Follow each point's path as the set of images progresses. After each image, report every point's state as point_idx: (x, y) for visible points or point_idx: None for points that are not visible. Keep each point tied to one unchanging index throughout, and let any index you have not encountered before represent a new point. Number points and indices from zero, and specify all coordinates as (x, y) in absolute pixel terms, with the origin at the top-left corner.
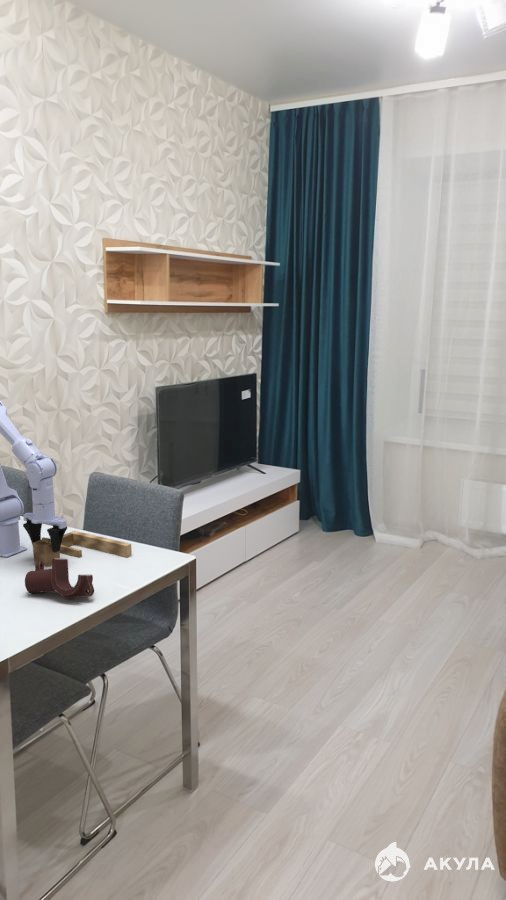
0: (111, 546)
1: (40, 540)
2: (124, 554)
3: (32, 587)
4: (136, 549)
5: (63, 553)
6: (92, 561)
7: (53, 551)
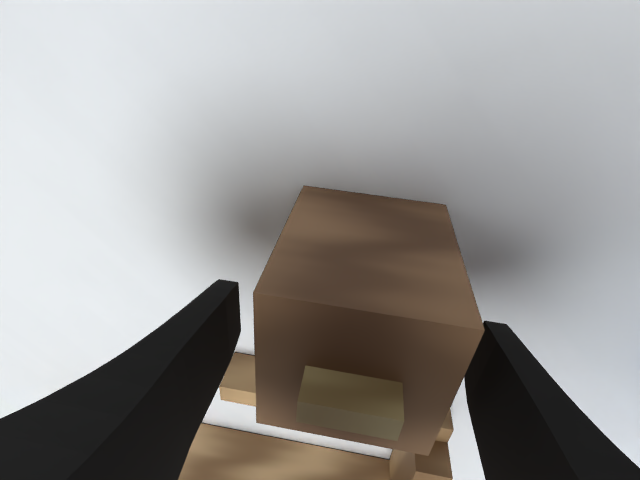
0: None
1: (434, 398)
2: None
3: None
4: None
5: None
6: (138, 331)
7: (226, 284)
